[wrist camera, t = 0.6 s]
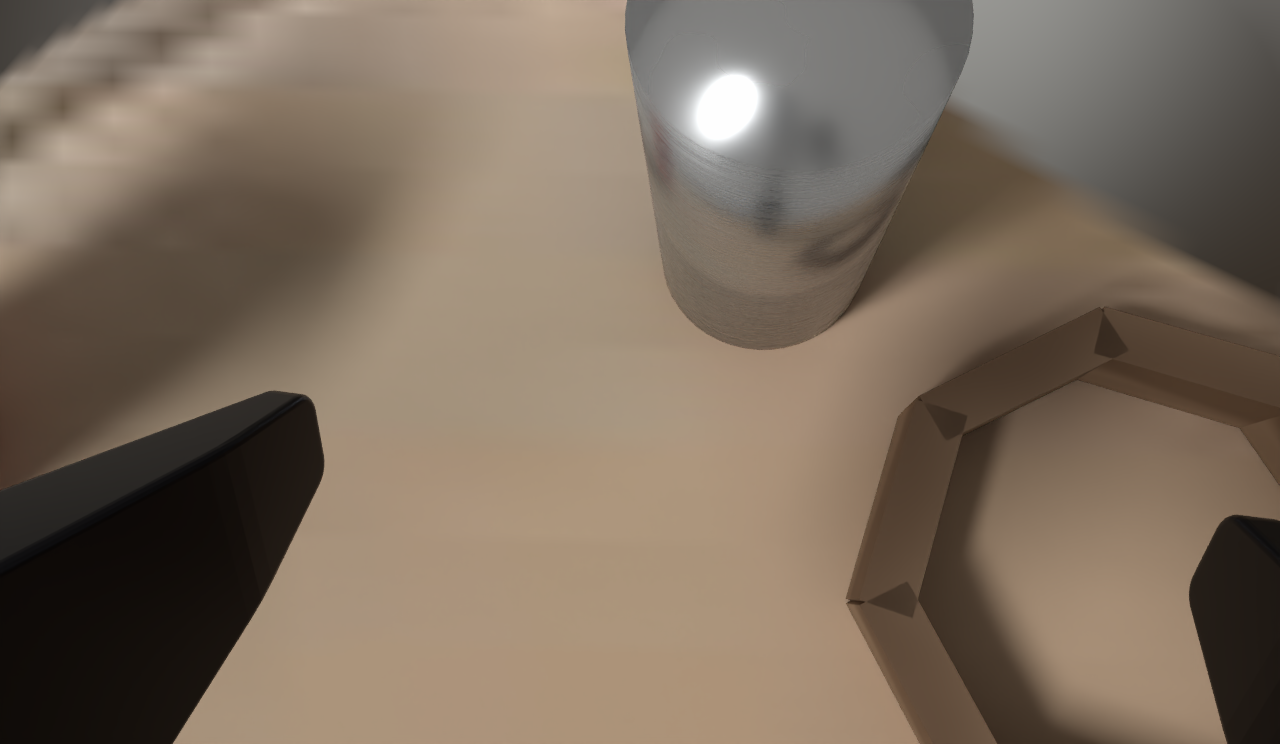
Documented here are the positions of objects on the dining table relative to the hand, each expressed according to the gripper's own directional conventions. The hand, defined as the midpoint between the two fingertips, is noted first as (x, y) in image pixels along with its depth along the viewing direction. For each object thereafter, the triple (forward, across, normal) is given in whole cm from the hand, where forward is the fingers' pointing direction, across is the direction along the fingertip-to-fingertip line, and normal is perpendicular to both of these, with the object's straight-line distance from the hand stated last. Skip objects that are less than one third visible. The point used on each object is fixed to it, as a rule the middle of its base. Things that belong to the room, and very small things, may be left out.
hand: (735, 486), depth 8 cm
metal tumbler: (+15, 0, +3) cm, 15 cm away
